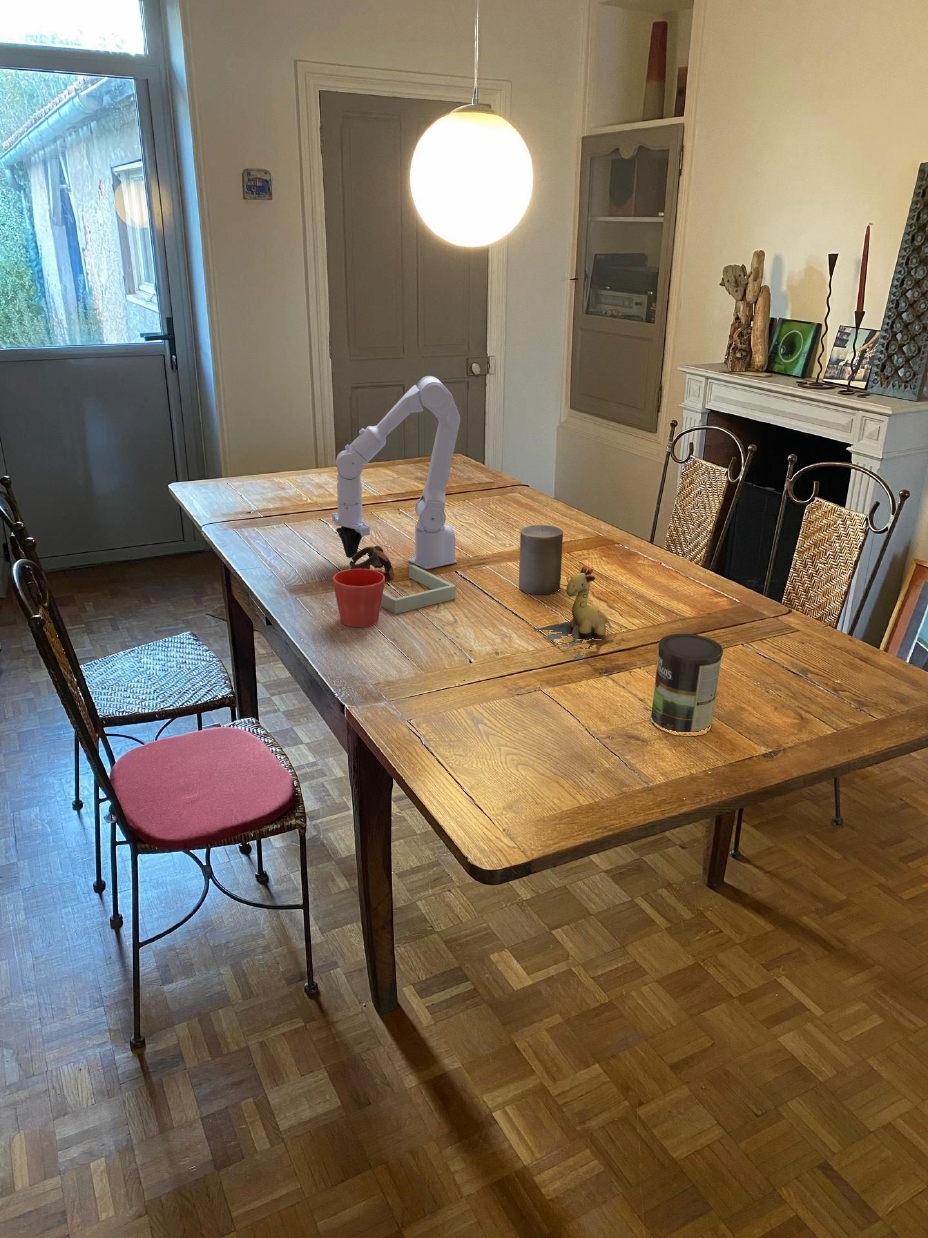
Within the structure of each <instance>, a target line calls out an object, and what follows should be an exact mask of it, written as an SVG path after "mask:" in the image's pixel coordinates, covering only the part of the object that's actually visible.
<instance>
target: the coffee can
mask: <svg viewBox="0 0 928 1238" xmlns="http://www.w3.org/2000/svg"><path fill="white" fill-rule="evenodd" d="M657 647H658V652H657V653H658V654H657V662H656V668H655V669H656V670H655V678H654V679H655V680H654V687H653V688H654V690H653V698H652V706H651V714H650V717H651V718H652V720H653V722H654V723H656V724H657V725H659V726H660V727H662V728H665V729H667V730H672V731H676V732H699V731H701V730H705V729H706V728H709V727H710V725H711V724H712V725H713V719H714V718H713V717H714V711H715V704H716V703H715V702H716V696H717V690H718V684H719V676H720V669H721V663H722V657H723V654H724V648H723V646H722V645H721V644H720V643H719V642H718V641H716V640H713V639H711V638H709V637H706V636H702V635H700V634H699V635H698V634H694V633H693V634H692V633H675V634H673V633H672V634H668V635H665V636H664V637H662V638H660V640H659V641H658V646H657Z"/></svg>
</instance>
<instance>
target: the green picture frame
mask: <svg viewBox="0 0 928 1238" xmlns="http://www.w3.org/2000/svg"><path fill="white" fill-rule="evenodd" d="M408 568H409V571H408V572H409V576H408V577H409V578H410V579H412V580H414V581H415V582H417V583H419V584H421V585H423V586H425V587H427V588H429V590H425V591H422V592H416V593H413V594H409V595H408V594H407V595H405V596H400V597H397V598H396V597H394V596H393V595H392V594H389V593H388V592H386V591H384V590H383V595H382V601H381V607H383V609H385V610H388V611H389V612H391V613H392V614H395V615H396V614H400V613H404V612H407V611H412V610H416V609H419V608H420V609H421V608H423V607H428V606H431V605H435V604H440V603H444V602H448V601H453V600H456V598H457V594H456V593H457V586H456V585H455V584H453V583H451V582H448V581H447V580H445V579H443V578H441V577H438V576H437V575H435V574H433V573H431V572H429V571H426V569H424V568H422V567H420V566H418V565H416V564H411V565H409V567H408Z"/></svg>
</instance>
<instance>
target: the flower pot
mask: <svg viewBox="0 0 928 1238" xmlns="http://www.w3.org/2000/svg"><path fill="white" fill-rule="evenodd" d="M385 580H386V577H385V575H384V573H382V572H380V571H378V570H374V569H371V568H370V569H351V568H349V569H344V570H341V571H339V572H336V573H335V574H334V575H333V576H332V582H333V588H334V589H333V590H334V594H335V599H336V600H335V601H336V605H337V609H338V610H337V611H338V613H339V617H340V622H341V623H342V624H344V626H347V627H352V628H354V627H355V628H366V627H371V626H374V625H375V624H377V622H378V621H379V616H380V611H381V607H382V606H381V601H382V595H383V591H384V589H385V582H386V581H385Z"/></svg>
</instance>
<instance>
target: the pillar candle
mask: <svg viewBox="0 0 928 1238" xmlns="http://www.w3.org/2000/svg"><path fill="white" fill-rule="evenodd" d="M519 534H520V535H519V564H518V565H519V566H518V567H519V568H518V588H519V590H521V591H522V590H523V591H522V592H523V593H526V592H527V593H526V594H529V593H531V594H530V595H535V594H538V595H539V596H540V595H541V594H546V595H551V594H556V593H558V592H559V591H560V590H561V578H562V560H563V543H564V541H563V540H564V538H563V537H564V532H563V530H562V529H561V528H559V527H557V526H555V525H554V526H553V525H548V524H534V525H526V526H524V527H522V528H520V531H519ZM559 589H560V590H559ZM558 590H559V591H558ZM555 592H556V593H555ZM538 595H537V596H538ZM541 596H542V595H541Z"/></svg>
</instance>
